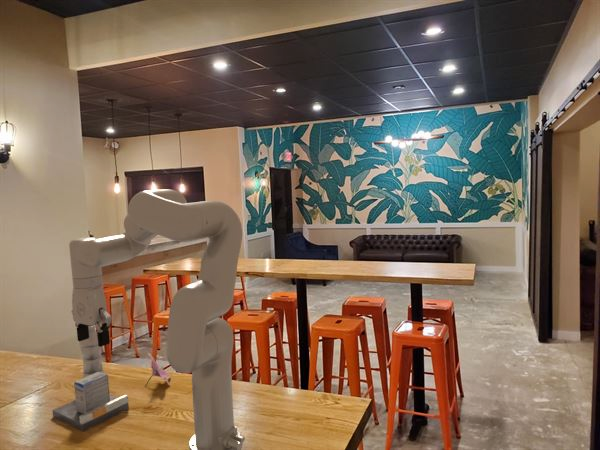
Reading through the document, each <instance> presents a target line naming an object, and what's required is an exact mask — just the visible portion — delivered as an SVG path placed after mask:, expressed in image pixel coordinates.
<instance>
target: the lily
mask: <svg viewBox="0 0 600 450" xmlns="http://www.w3.org/2000/svg"><path fill="white" fill-rule="evenodd" d="M147 354H148V355H149V357H150V359H151V362H150V361H148V362H147V363H148V364H149V365H150V366H151V367H152V369H151V370H152V372H151V376H150V377H149V378H148V380H147V381H146V384H145V388H146V387H147V386H148V383H149V381H150V380H151V378H152V377H160V378H161V379H163V380H165V382H166V383H167V384H168V386H169V387H171V384H170V382H169V380H168V379H167V378H170V379H171V376H170V374H169V373H168V372H167V371H166V370H164V366H163V367H162V366H161V367H160V365H159V363H158V362H156V360H155V358H154V357H153V356H152V355H151V354H150V353H149V352H148V351H147Z"/></svg>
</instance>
